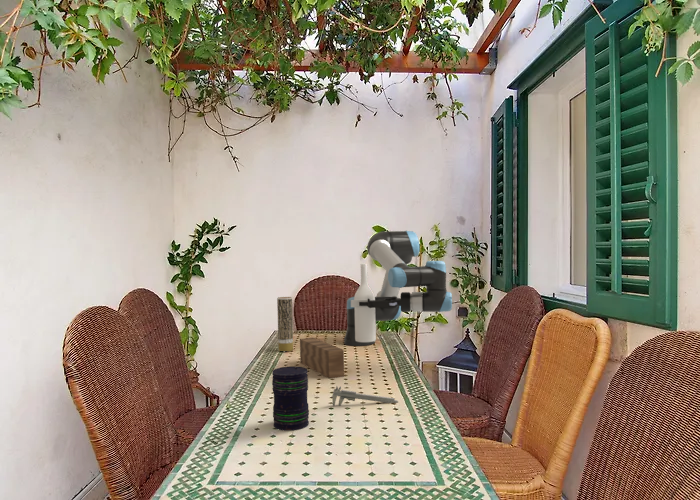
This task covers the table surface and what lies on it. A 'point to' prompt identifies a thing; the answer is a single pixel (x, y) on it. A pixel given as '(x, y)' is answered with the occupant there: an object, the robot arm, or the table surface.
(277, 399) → the storage jar
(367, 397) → the caliper
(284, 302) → the paper tube
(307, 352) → the wooden block
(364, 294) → the bottle
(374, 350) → the table surface
